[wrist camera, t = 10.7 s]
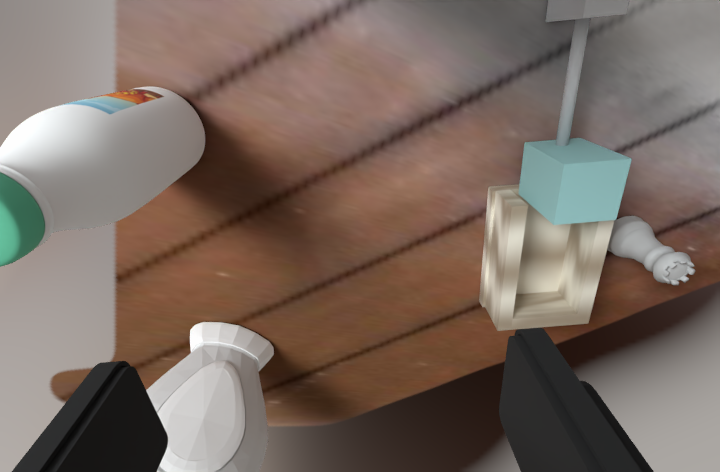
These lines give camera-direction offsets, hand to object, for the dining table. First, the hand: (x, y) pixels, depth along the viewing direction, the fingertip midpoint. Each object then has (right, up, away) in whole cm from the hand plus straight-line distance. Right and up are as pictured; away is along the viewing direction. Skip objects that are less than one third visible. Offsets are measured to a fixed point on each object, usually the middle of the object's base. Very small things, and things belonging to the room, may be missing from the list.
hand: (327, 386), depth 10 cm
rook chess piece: (+29, +4, +31) cm, 42 cm away
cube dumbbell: (+18, +16, +24) cm, 34 cm away
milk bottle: (-17, +13, +25) cm, 33 cm away
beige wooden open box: (+19, +3, +31) cm, 36 cm away
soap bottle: (-15, -10, +36) cm, 41 cm away
